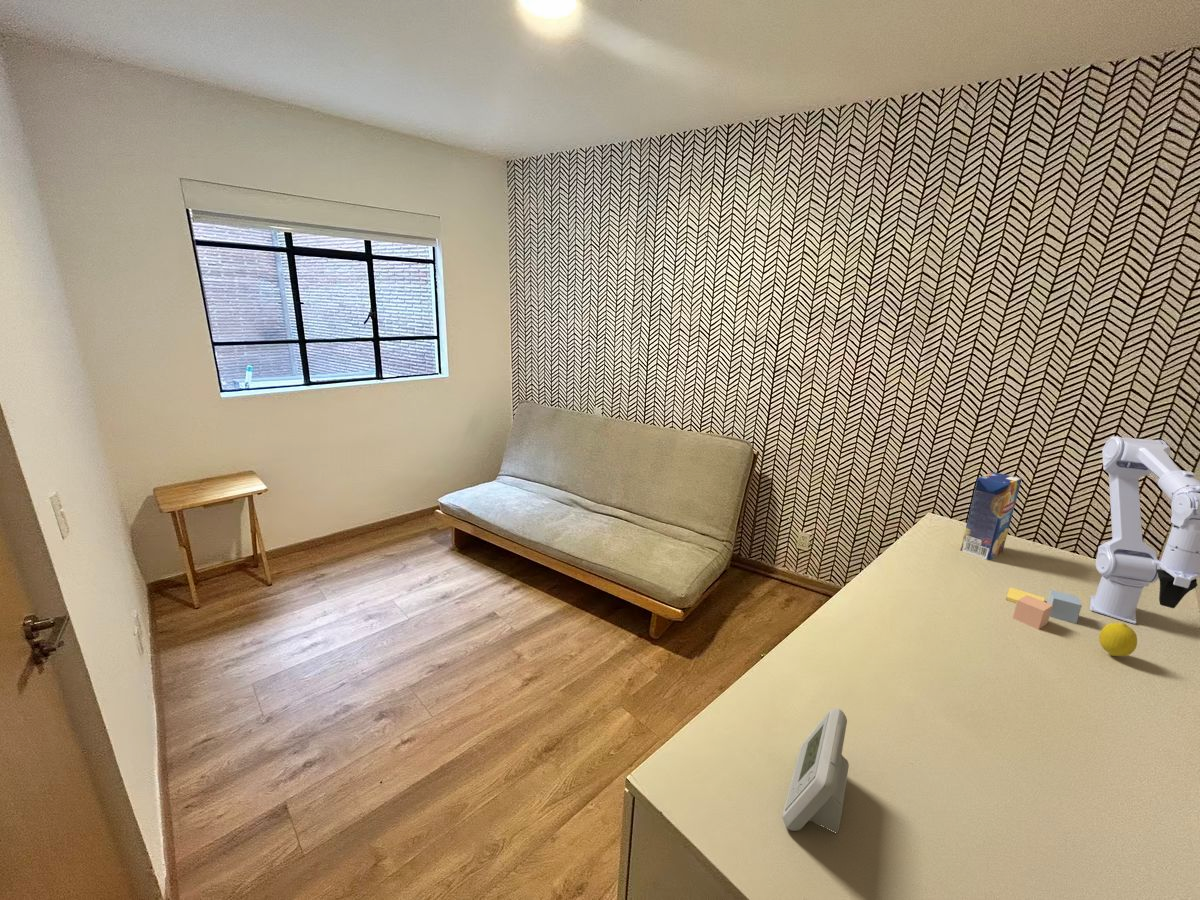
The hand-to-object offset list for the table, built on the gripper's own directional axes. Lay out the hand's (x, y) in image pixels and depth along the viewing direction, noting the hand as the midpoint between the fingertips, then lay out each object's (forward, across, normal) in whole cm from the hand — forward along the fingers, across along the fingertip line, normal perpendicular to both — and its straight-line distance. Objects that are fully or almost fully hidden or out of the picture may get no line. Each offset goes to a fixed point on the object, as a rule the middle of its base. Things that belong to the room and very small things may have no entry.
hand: (1166, 605), depth 107 cm
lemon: (+11, +11, -6) cm, 17 cm away
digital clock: (+12, +91, -38) cm, 99 cm away
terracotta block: (+10, +7, -20) cm, 24 cm away
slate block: (+10, -2, -15) cm, 19 cm away
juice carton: (+10, -31, -35) cm, 48 cm away
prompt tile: (+10, -4, -22) cm, 25 cm away
